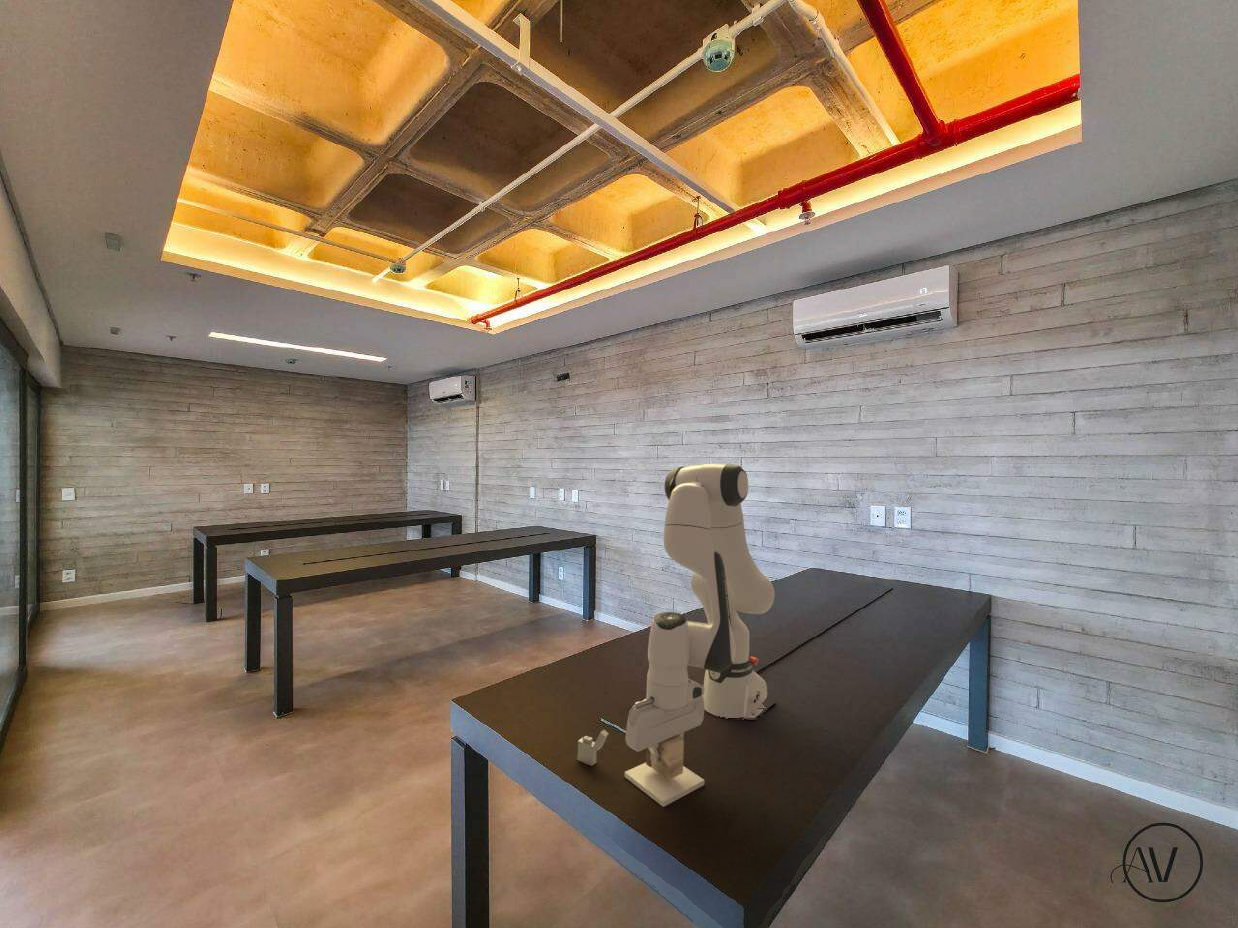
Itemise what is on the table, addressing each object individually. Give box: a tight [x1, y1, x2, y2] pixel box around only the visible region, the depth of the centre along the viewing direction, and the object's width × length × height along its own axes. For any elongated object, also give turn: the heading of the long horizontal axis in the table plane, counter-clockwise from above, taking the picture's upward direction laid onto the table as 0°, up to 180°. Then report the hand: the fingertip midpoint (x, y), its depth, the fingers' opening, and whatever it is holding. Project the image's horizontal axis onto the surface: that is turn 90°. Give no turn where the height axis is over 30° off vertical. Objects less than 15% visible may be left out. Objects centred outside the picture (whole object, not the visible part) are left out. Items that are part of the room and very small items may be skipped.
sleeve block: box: [645, 736, 685, 780], centre depth 108 cm, size 7×4×7 cm, turn 39°
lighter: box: [577, 729, 609, 767], centre depth 114 cm, size 7×2×8 cm, turn 59°
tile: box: [624, 762, 705, 808], centre depth 108 cm, size 12×12×1 cm
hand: (665, 756), depth 108 cm, fingers closed on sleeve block, 4 cm apart
